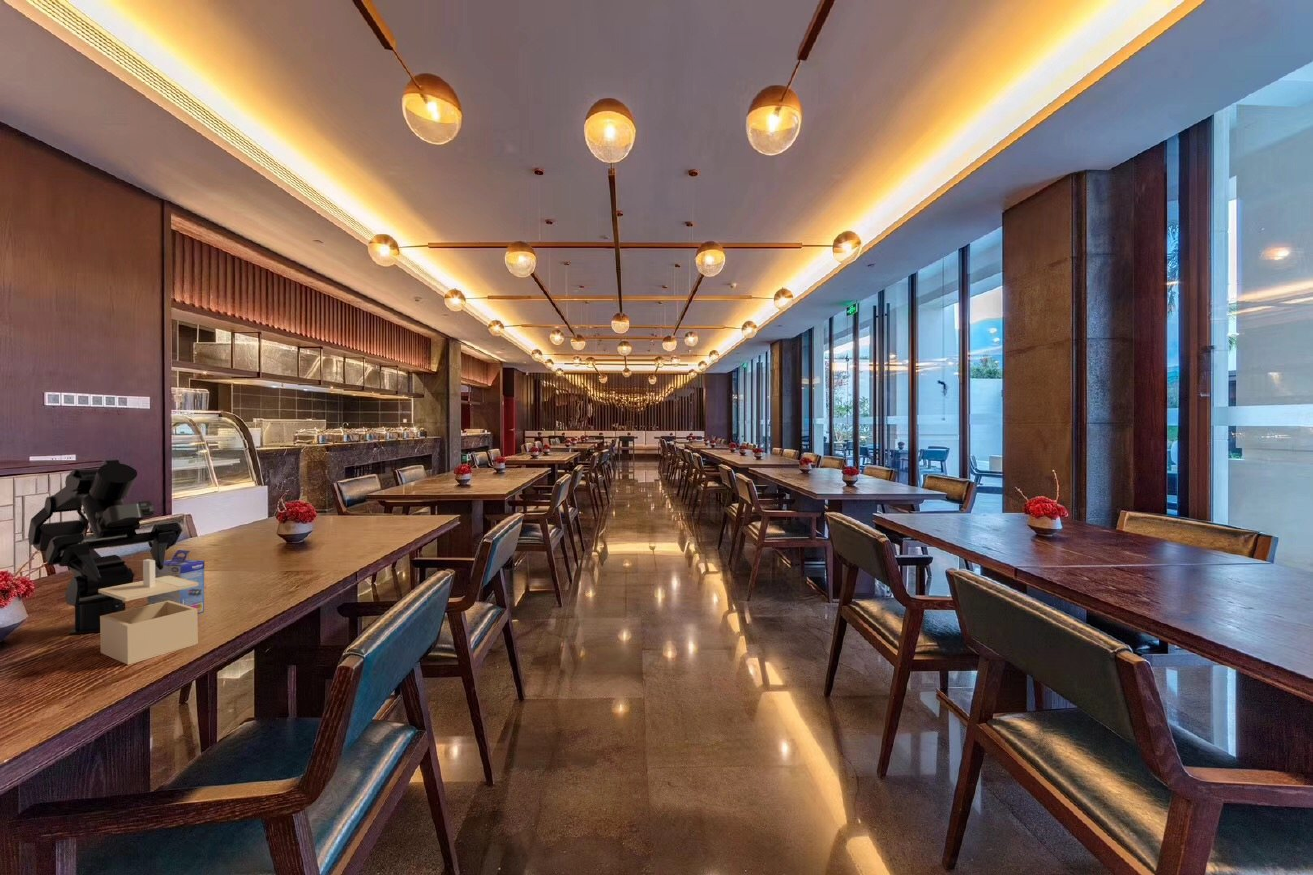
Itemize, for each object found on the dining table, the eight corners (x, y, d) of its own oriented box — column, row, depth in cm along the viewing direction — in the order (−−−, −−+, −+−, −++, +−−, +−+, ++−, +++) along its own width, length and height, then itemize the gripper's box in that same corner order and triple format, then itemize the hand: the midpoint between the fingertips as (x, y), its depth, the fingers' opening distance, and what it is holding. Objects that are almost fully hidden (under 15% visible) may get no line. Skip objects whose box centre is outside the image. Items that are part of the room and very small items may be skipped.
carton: (100, 652, 96) (100, 615, 96) (169, 633, 105) (168, 600, 105) (127, 664, 91) (127, 626, 91) (197, 643, 100) (197, 608, 100)
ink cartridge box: (206, 611, 118) (206, 549, 118) (180, 619, 113) (179, 555, 113) (173, 608, 120) (173, 548, 120) (146, 617, 115) (145, 553, 115)
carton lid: (98, 592, 96) (97, 563, 96) (169, 578, 105) (169, 551, 105) (125, 601, 90) (125, 570, 90) (198, 585, 100) (198, 557, 100)
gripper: (50, 494, 95) (73, 559, 90) (177, 485, 112) (203, 539, 107) (35, 532, 99) (57, 596, 94) (161, 518, 115) (185, 572, 111)
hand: (131, 573), depth 101 cm, fingers open, 9 cm apart
